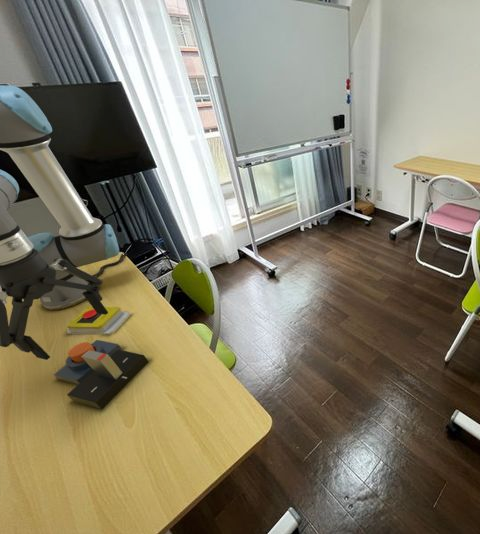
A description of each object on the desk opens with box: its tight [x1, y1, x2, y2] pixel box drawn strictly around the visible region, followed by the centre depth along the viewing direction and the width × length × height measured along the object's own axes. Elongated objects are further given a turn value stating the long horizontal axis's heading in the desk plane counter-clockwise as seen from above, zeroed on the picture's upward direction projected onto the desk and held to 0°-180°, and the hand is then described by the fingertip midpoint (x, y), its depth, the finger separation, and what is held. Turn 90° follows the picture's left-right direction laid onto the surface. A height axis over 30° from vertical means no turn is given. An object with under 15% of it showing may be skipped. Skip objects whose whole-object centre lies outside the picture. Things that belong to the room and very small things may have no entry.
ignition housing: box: [53, 339, 123, 385], centre depth 81 cm, size 12×8×4 cm, turn 166°
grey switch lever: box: [81, 350, 123, 380], centre depth 73 cm, size 6×2×8 cm, turn 75°
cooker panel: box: [66, 350, 149, 410], centre depth 76 cm, size 14×11×3 cm
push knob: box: [67, 341, 95, 363], centre depth 79 cm, size 5×5×3 cm
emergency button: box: [66, 306, 131, 336], centre depth 93 cm, size 9×4×15 cm
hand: (75, 333), depth 68 cm, fingers open, 13 cm apart
